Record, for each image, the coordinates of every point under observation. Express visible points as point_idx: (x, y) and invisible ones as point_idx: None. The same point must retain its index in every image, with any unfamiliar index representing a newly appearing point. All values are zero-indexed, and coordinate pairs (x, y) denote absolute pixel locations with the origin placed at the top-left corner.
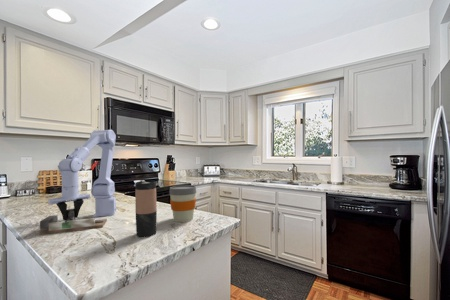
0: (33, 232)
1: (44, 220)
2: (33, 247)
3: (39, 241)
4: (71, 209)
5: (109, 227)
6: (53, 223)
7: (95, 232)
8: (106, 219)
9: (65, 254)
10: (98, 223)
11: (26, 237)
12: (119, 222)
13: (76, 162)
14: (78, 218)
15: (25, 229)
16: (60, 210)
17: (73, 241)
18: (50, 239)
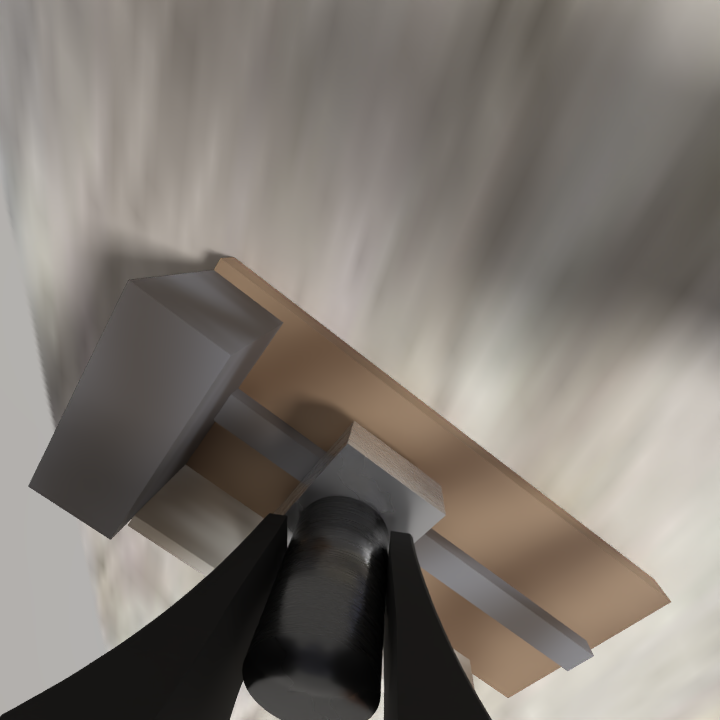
0: (101, 306)
1: (67, 495)
2: (101, 623)
3: (129, 566)
4: (317, 697)
5: (523, 712)
6: (170, 544)
7: None
8: (651, 613)
9: None
10: (517, 647)
11: (61, 406)
12: (660, 694)
13: None
14: (442, 506)
15: (32, 79)
16: (168, 620)
17: (264, 714)
18: (182, 589)
